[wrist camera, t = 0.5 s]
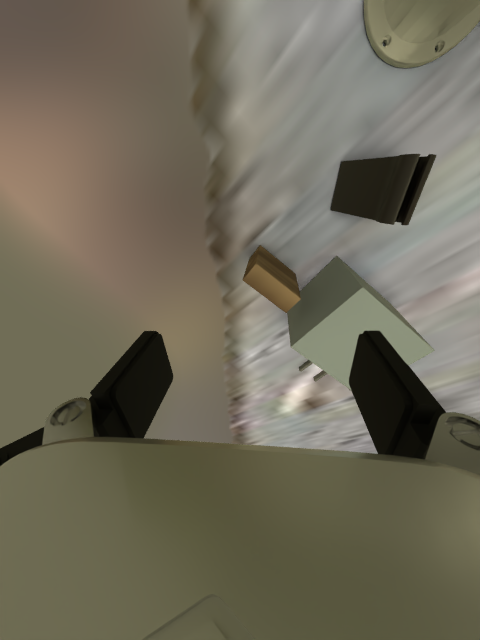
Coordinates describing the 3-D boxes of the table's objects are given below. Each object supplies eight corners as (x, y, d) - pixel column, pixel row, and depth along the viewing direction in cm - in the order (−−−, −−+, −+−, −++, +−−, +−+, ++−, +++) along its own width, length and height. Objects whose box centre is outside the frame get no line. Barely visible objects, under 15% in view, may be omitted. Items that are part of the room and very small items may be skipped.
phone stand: (329, 209, 34) (353, 222, 24) (341, 161, 31) (374, 151, 21) (392, 213, 33) (444, 228, 23) (410, 164, 30) (480, 155, 20)
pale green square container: (336, 255, 37) (362, 287, 26) (405, 316, 41) (452, 366, 30) (254, 336, 48) (248, 382, 37) (314, 378, 52) (325, 431, 41)
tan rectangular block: (260, 245, 38) (256, 263, 29) (295, 273, 40) (301, 298, 31) (246, 262, 40) (239, 284, 31) (280, 288, 42) (282, 316, 33)
